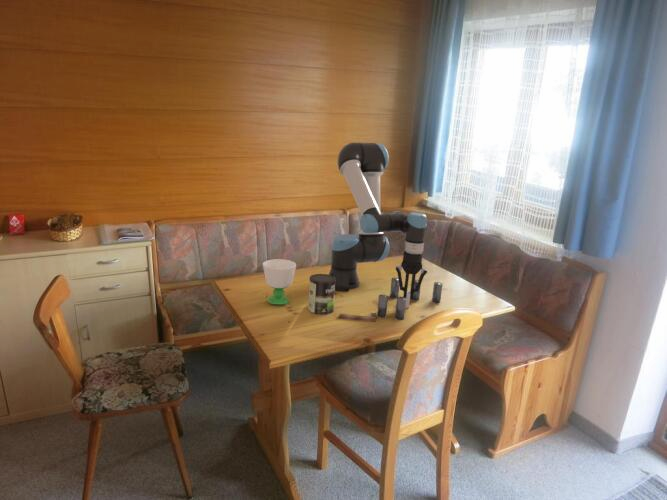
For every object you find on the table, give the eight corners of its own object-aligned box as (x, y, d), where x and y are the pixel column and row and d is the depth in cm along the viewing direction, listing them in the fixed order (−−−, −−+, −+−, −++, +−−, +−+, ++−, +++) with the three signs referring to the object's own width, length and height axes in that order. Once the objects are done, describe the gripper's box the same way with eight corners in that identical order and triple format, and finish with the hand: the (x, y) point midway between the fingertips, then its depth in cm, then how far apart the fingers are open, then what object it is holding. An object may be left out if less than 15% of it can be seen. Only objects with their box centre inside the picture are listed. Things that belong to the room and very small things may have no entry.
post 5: (431, 304, 207) (434, 284, 205) (431, 301, 211) (433, 281, 208) (440, 305, 207) (442, 285, 205) (439, 302, 210) (442, 282, 208)
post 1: (376, 318, 189) (378, 297, 186) (377, 315, 192) (379, 294, 190) (385, 320, 188) (387, 298, 186) (386, 316, 191) (388, 295, 189)
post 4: (410, 301, 209) (412, 282, 206) (410, 298, 212) (412, 279, 210) (418, 302, 208) (421, 282, 206) (418, 299, 212) (421, 280, 209)
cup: (281, 292, 210) (282, 257, 206) (301, 301, 201) (303, 265, 196) (254, 299, 201) (255, 262, 196) (275, 309, 191) (276, 271, 187)
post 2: (389, 299, 210) (391, 279, 208) (389, 296, 213) (391, 277, 211) (397, 300, 209) (400, 280, 207) (398, 297, 213) (400, 278, 210)
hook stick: (338, 320, 185) (339, 315, 184) (339, 314, 191) (340, 309, 190) (375, 324, 184) (375, 319, 183) (375, 317, 190) (375, 313, 189)
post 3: (394, 321, 188) (396, 299, 185) (394, 317, 191) (397, 296, 189) (403, 322, 187) (406, 300, 185) (404, 318, 191) (406, 297, 188)
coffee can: (338, 310, 194) (340, 277, 190) (324, 318, 186) (326, 284, 182) (317, 304, 199) (319, 271, 195) (302, 312, 191) (304, 278, 187)
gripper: (396, 252, 191) (390, 307, 197) (430, 255, 189) (423, 311, 196) (397, 247, 198) (391, 301, 205) (429, 250, 196) (422, 304, 203)
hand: (406, 306), depth 200 cm, fingers closed
